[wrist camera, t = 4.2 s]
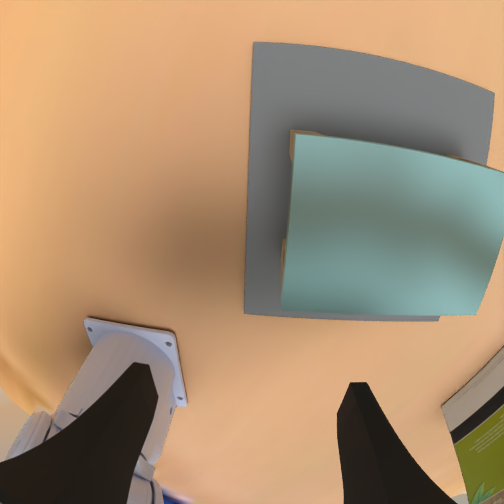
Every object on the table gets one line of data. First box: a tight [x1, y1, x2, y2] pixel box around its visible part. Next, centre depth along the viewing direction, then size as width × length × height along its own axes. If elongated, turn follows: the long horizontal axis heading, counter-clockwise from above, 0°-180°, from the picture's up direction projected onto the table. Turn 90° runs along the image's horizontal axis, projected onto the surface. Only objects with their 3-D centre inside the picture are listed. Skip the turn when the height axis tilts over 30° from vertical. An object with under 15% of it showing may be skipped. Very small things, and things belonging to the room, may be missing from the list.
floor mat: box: [244, 42, 495, 321], centre depth 16 cm, size 16×14×1 cm
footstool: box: [281, 130, 504, 316], centre depth 13 cm, size 7×10×5 cm
